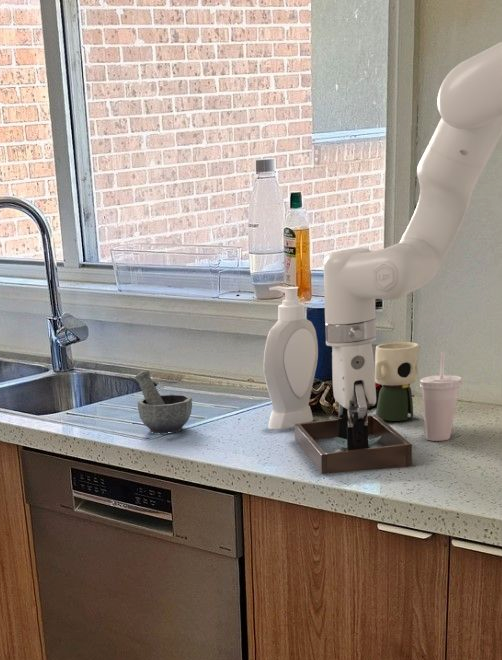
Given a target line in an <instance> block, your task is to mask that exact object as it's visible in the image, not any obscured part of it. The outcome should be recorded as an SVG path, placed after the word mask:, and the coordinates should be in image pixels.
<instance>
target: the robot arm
mask: <svg viewBox="0 0 502 660" xmlns="http://www.w3.org/2000/svg"><path fill="white" fill-rule="evenodd" d="M437 110H438V112H439V115H440V120H439V122H438V124H437V126H436V128H435V129H434V132H433V133H432V136H431V137H430V139H429V142H428V144H427V146H426V148H425V150H424V152H423V154H422V156H421V158H420V160H419V162H418V165H417V169H416V175H417V180H418V184H419V196H418V200H417V205H416V207H415V210H414V212H413V214H412V217H411V219H410V220H409V223H408V225H407V227H406V229H405V231H404V233H403V234H402V236H401V238H400V241H399V242H398V243H397V242H396V243H395V244H392V245H390V246H387V247H385V248H381V249H378V250H373V251H372V250H371V249H368V248H363V247H362V248H361V247H360V248H349V249H348V248H347V249H342V250H341V249H340V250H337V251H333V252H331V253H329V254H327V255H326V257H325V258H324V260H323V291H324V292H323V293H324V295H323V296H324V298H323V299H324V322H325V323H324V325H325V328H324V329H325V345H326V346H327V347H331V348H332V349H331V351H332V352H331V370H332V371H331V373H332V374H331V375H332V392H333V393H332V395H333V398H334V400H335V402H337V404H338V407H337V417H338V418H337V419H338V437H339V438H343V439H347V450H357V449H365V448H368V440H369V435H368V419H367V415H368V412H367V411H368V405H369V406H370V407H374V406H375V405H377V389H376V383H375V358H374V351H373V345H372V343H373V342H375V341H376V340H377V333H376V332H377V330H376V329H377V327H376V326H377V323H376V322H377V321H376V300H383V301H387V300H388V301H389V300H390V301H391V300H397V299H400V298H403V297H405V296H406V295H409V294H411V293H412V292H414V291H417V290H419V289H422V288H423V287H425V286H426V285H428V284H429V283H430V282H431V281H432V279H434V277H435V276H436V275H437V273H438V272H439V270H440V269H441V266H442V264H443V263H444V261H445V259H446V257H447V256H448V254H449V252H450V251H451V248H452V246H453V244H454V242H455V241H456V238H457V236H458V234H459V232H460V230H461V228H462V225H463V223H464V220H465V218H466V214H467V212H468V208H469V205H470V204H471V200H472V197H473V192H474V189H475V187H476V185H477V183H478V182H479V179H480V177H481V176H482V173H483V172H484V169H485V167H486V166H487V163H488V162H489V160H490V158H491V156H492V154H493V152H494V150H495V148H496V146H497V145H498V143H499V140H500V139H501V136H502V41H500V42H498V43H496V44H494V45H492V46H491V47H488V48H487V49H485V50H483V51H481V52H479V53H477V54H475V55H472V56H470V57H469V58H467V59H465V60H463V61H461V62H460V63H458V64H457V65H456V66H455V67H453V68H452V69H451V70H450V71H449V72H448V73H447V75H446V76H445V77H444V79H443V80H442V83H441V85H440V87H439V90H438V95H437ZM353 415H354V416H353ZM348 423H349V427H348Z"/></svg>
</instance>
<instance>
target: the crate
mask: <svg viewBox="0 0 502 660" xmlns="http://www.w3.org/2000/svg"><path fill="white" fill-rule="evenodd" d="M338 419H339V418H333V419H325V420H316V421H311V422H307V423H298V424H295V427H294V441H295V443H296V444H297V445H298V446H299V447H300V449H301V450H302V451H303V453H304V454H305V455H306V457H307V458H308V459H309V460H310V461H311V463H312V464H313V465H314V466H315V468H316V469H317V470H318V471H319V473H320V474H321V475H328V474H329V475H330V474H339V473H340V474H341V473H351V472H363V471H375V470H386V469H397V468H410V467H413V466H412V465H413V444H412V443H411V442H410V441H409V440H408V439H406V438H405V437H404V436H402V434H400V433H399V431H397V430H395V429H394V428H393V427H392V426H390V425H389V424H388V423H387V422H386V420H384V419H381V418H380V417H379V416H377V415H376V413H375V414H367V419H368V436H373V437H374V438H376V437H379V436H381V439H380V440H379V441H378V442H379V443H381V445H382V446H375V447H374V446H373V447H371V448H365V449H357V450H348V451H339V452H335V451H331V452H325V451H324V449H322V447H321V446H320V445H319V444H318V442H317V440H318V441H319V440H329V439H334V438H335V437H338Z"/></svg>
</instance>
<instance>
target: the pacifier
mask: <svg viewBox="0 0 502 660" xmlns="http://www.w3.org/2000/svg"><path fill="white" fill-rule="evenodd" d="M353 416H354V415H353ZM348 427H349V423H348ZM380 439H381V436H379V437H376V438H375V437H374V438H371V439H368V448H372V446H373V445H375V444H376V443H378V442H380V441H379V440H380ZM333 441H334V443H335V444H336V445H337V446H338V447H341V448H338V449H336V450H335V451H334V452H339V451H348V450H347V439H343V438H339V437H335V438H333Z"/></svg>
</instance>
